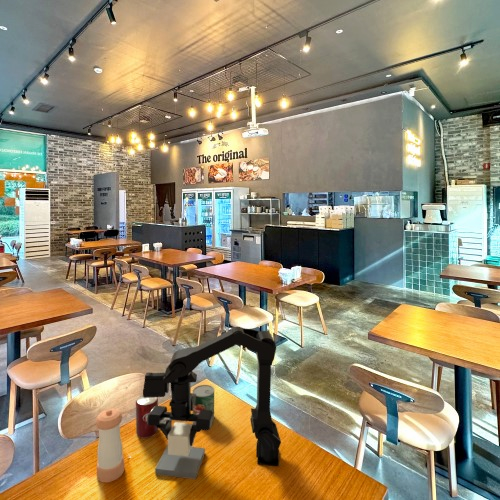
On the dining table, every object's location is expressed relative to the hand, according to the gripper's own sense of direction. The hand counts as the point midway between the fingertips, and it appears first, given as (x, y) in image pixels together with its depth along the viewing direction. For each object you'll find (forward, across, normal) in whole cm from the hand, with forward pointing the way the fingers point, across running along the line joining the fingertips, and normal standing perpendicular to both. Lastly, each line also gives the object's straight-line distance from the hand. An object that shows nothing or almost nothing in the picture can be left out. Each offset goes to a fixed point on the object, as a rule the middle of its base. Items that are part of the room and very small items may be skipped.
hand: (181, 443), depth 97 cm
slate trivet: (+6, 0, 0) cm, 6 cm away
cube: (+1, 0, 0) cm, 1 cm away
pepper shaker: (+6, +19, +6) cm, 21 cm away
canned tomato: (+7, -1, -22) cm, 23 cm away
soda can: (+6, +16, -12) cm, 21 cm away
